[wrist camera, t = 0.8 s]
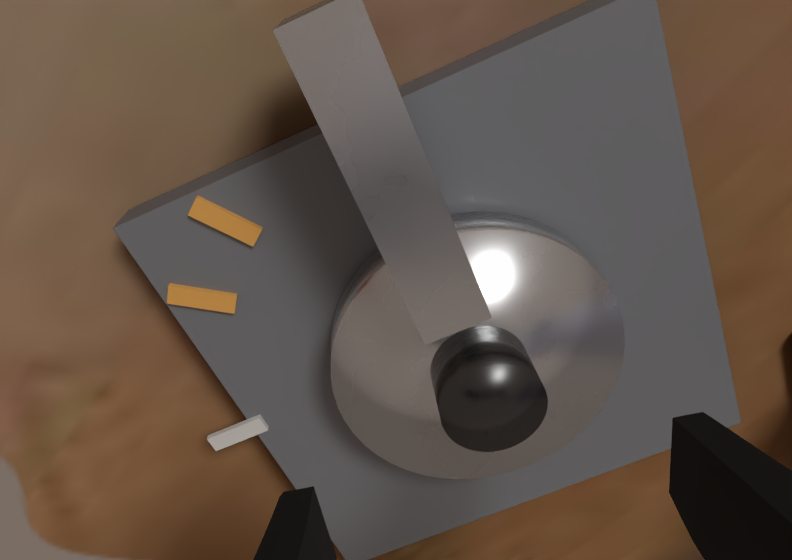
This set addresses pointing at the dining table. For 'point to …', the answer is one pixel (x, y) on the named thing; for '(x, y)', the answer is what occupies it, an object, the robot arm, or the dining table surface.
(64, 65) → the dining table surface
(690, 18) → the dining table surface
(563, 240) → the dial
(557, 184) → the dial plate
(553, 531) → the dining table surface
